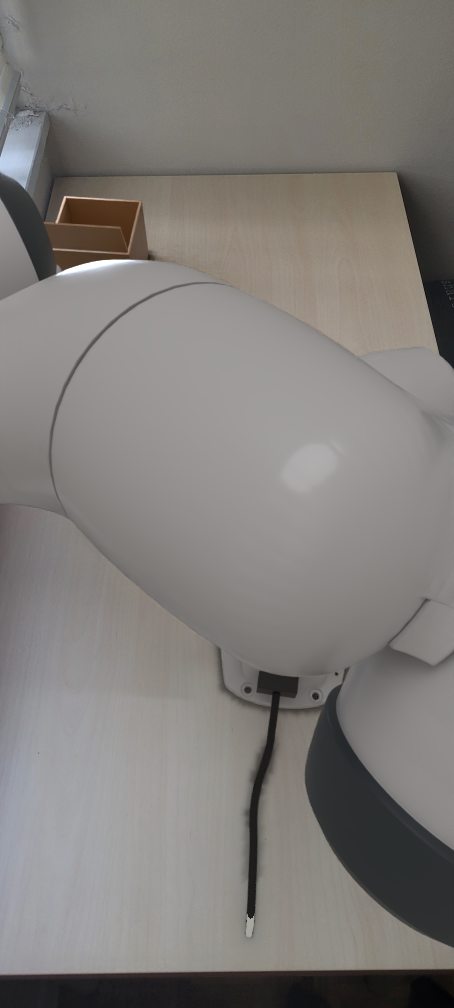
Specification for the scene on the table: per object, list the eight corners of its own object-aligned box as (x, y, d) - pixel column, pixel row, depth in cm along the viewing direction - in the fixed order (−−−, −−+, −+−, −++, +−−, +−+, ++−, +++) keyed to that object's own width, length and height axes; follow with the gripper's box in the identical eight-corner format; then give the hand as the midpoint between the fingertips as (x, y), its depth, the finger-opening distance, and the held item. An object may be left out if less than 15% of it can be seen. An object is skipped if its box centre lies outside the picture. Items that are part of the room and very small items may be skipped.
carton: (137, 306, 107) (129, 254, 98) (61, 301, 107) (46, 249, 98) (148, 253, 113) (141, 200, 104) (77, 248, 113) (64, 196, 104)
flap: (128, 250, 97) (128, 252, 97) (46, 245, 98) (45, 247, 97) (120, 226, 91) (119, 228, 91) (32, 221, 91) (32, 223, 91)
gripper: (-192, 307, 50) (-111, 412, 63) (64, 322, 50) (96, 426, 62) (-163, 252, 53) (-91, 363, 66) (79, 266, 53) (106, 375, 65)
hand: (1, 393), depth 64 cm, fingers closed on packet, 4 cm apart
